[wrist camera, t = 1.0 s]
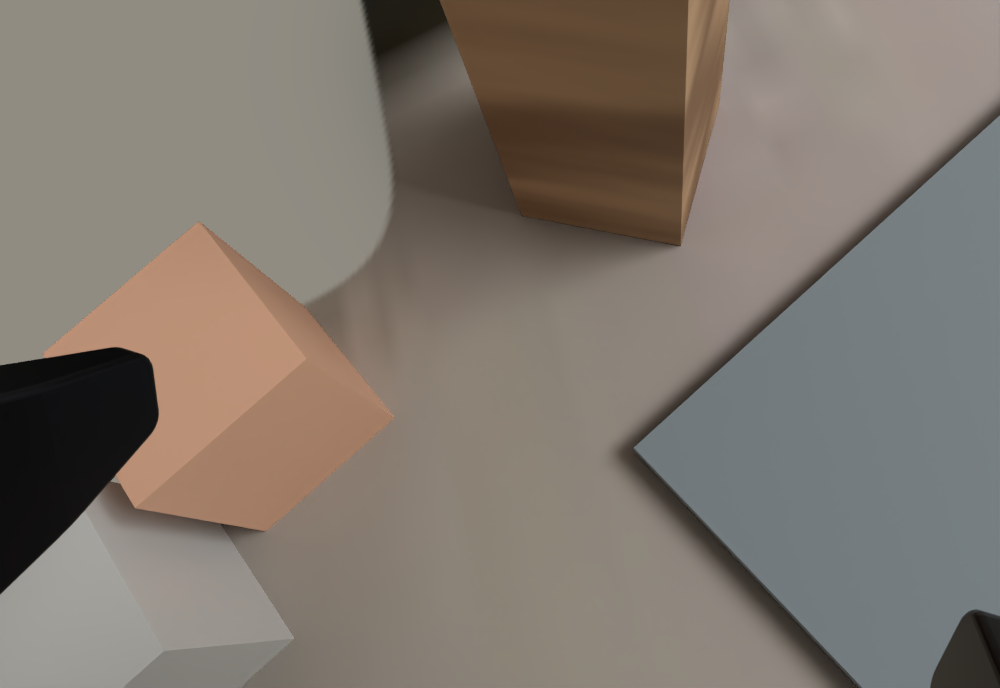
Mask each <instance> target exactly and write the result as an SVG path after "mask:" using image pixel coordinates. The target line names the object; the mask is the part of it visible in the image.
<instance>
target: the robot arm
mask: <svg viewBox="0 0 1000 688" xmlns="http://www.w3.org/2000/svg"><path fill="white" fill-rule="evenodd" d="M158 418H159V407H158V400H157V392H156V385H155V378H154V370H153V365H152V363H151V361H150V360H149V358H148V357H146V356H145V355H143V354H141V353H138V352H134V351H131V350H128V349H125V348H121V347H110V348H104V349H98V350H92V351H86V352H80V353H73V354H67V355H61V356H55V357H49V358H44V359H38V360H31V361H25V362H19V363H12V364H6V365H0V595H1V594H2V593H3V592H4V591H5V590H6V589H7V588H8V587H9V586H10V585H11V584H12V583H13V582H14V581H15V580H16V579H17V578H18V577H19V576H20V575H21V574H22V573H23V572H24V571H25V570H26V569H28V568H29V567H30V566H31V565H32V564H33V563H34V562H35V561H36V560H37V559H38V558H39V557H40V556H41V555H42V554H43V553H44V552H45V551H46V550H47V549H48V548H49V547H50V546H51V545H52V544H53V543H55V542H56V541H57V540H58V539H59V538H60V536H61V535H62V534H63V533H64V532H65V531H66V530H67V529H68V528H69V527H70V526H71V525H72V524H73V523H74V522H75V521H76V520H77V519H78V518H79V517H80V515H81V514H82V513H83V512H84V511H85V510H86V509H87V508H88V506H89V505H90V504H91V503H92V502H93V501H94V500H95V498H96V497H97V496H98V495H99V494H100V493H101V491H102V490H103V489H104V488H105V487H106V486H107V485H108V483H109V482H110V481H111V480H112V479H113V478H114V477H115V475H116V474H117V473H118V472H119V471H120V470H121V468H122V467H123V466H124V465H125V464H126V463H127V462H128V460H129V459H130V458H131V457H132V456H133V455H134V453H135V452H136V451H137V450H138V449H139V448H140V447H141V445H142V444H143V443H144V442H145V441H146V440H147V439H148V437H149V436H150V435H151V434H152V432H153V431H154V429H155V427H156V425H157V422H158ZM930 688H1000V616H998V615H995V614H992V613H988V612H985V611H982V610H978V609H975V610H971V611H968V612H967V613H966V614H965V615H964V616H963V617H962V618H961V620H960V622H959V624H958V626H957V628H956V630H955V632H954V633H953V635H952V637H951V639H950V641H949V643H948V645H947V647H946V649H945V651H944V653H943V655H942V657H941V659H940V661H939V663H938V665H937V667H936V669H935V671H934V674H933V677H932V680H931V685H930Z"/></svg>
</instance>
